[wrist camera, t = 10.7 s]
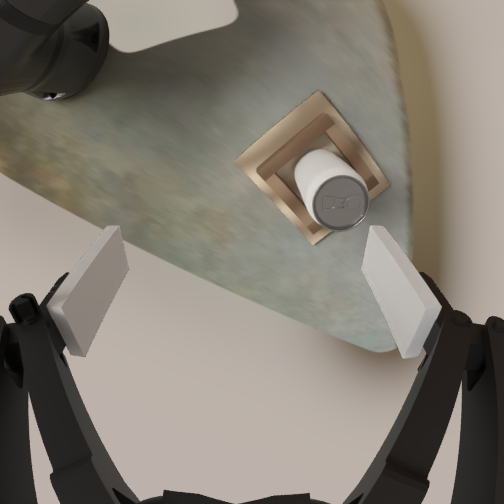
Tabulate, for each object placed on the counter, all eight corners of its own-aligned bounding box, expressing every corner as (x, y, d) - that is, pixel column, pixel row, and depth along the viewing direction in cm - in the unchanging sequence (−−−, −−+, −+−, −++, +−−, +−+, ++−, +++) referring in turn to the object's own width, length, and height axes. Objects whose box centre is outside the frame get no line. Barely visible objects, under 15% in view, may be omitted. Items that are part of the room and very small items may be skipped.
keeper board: (234, 160, 38) (232, 165, 35) (317, 90, 34) (323, 89, 31) (311, 242, 44) (315, 254, 41) (388, 183, 39) (397, 190, 36)
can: (341, 196, 40) (369, 235, 29) (293, 195, 40) (306, 236, 29) (344, 148, 36) (377, 172, 26) (294, 147, 37) (309, 169, 26)
